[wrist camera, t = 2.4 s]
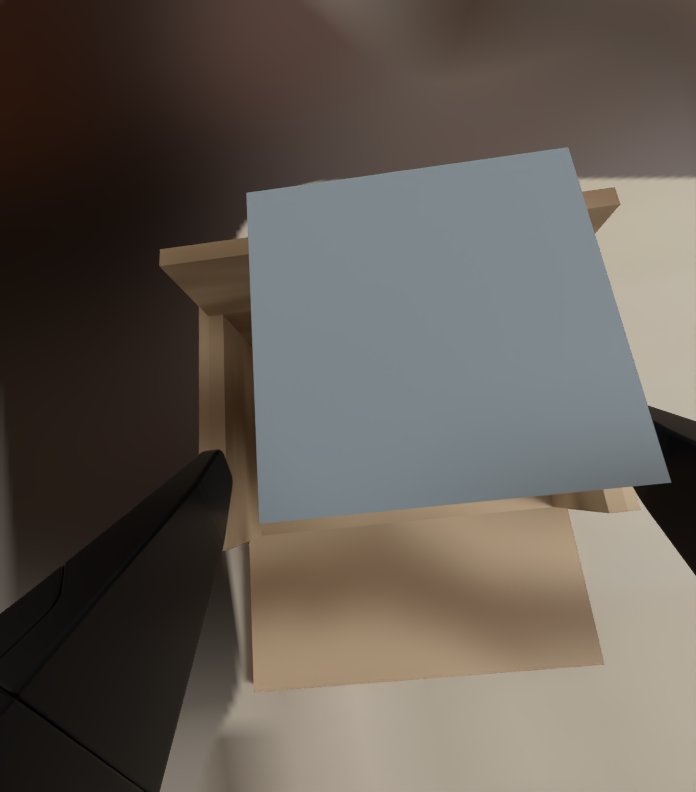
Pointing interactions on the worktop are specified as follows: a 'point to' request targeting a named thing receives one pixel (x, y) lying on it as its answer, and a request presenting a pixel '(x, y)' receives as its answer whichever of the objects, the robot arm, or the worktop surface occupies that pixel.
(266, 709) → the worktop surface
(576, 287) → the slate block
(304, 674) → the kraft carton
